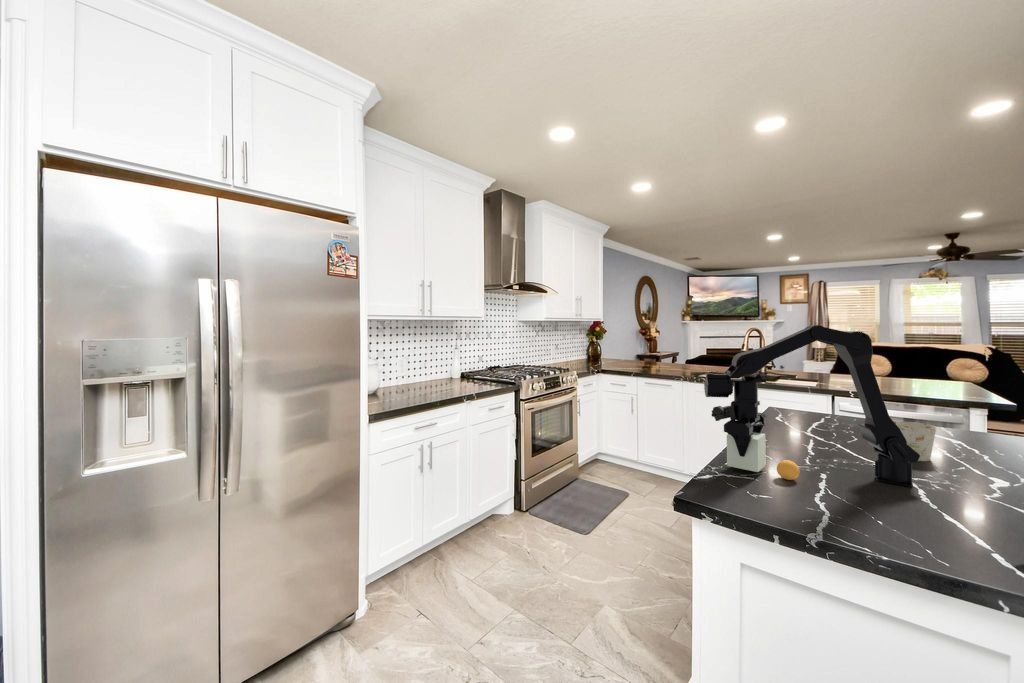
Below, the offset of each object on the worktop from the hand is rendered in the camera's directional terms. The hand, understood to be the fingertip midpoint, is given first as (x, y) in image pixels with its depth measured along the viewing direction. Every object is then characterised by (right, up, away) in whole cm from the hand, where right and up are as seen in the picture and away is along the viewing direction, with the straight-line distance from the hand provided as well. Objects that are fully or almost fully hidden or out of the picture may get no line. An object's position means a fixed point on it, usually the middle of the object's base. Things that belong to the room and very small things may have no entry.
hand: (746, 452), depth 112 cm
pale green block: (0, -4, 0) cm, 4 cm away
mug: (+52, -4, +7) cm, 53 cm away
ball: (+7, -3, -7) cm, 10 cm away
